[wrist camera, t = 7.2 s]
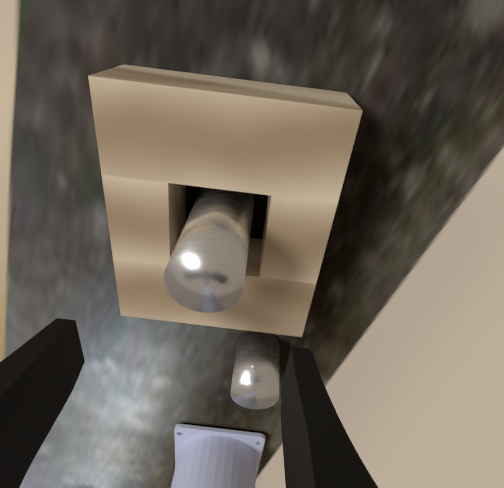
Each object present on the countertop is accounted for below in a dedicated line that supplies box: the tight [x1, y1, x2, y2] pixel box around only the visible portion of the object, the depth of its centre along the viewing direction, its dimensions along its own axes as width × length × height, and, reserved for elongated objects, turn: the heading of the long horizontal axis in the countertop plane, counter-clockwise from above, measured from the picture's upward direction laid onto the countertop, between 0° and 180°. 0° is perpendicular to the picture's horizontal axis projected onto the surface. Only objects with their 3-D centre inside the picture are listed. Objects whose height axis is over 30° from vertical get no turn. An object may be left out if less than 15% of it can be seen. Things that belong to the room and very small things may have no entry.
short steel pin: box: [231, 331, 279, 409], centre depth 23 cm, size 3×3×4 cm
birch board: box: [88, 65, 363, 337], centre depth 17 cm, size 12×10×4 cm
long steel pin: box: [164, 187, 254, 313], centre depth 16 cm, size 3×3×7 cm
